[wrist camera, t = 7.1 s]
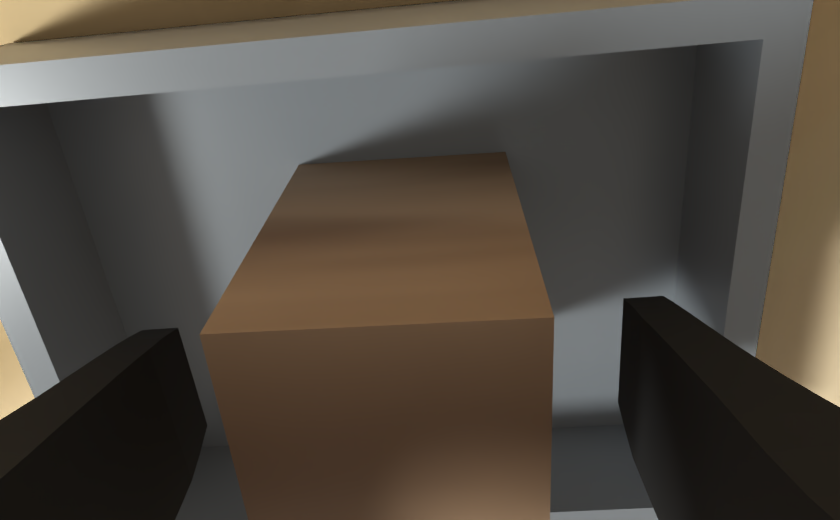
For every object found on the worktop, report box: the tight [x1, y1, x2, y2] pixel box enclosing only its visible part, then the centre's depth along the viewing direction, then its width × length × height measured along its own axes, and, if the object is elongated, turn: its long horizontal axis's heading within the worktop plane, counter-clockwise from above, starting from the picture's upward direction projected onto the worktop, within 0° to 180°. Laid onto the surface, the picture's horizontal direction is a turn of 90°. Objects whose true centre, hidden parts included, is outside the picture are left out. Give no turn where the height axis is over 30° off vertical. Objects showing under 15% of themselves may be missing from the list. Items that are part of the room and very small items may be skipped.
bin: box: [0, 0, 814, 520], centre depth 13 cm, size 10×13×3 cm
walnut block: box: [199, 152, 554, 520], centre depth 11 cm, size 4×4×6 cm
